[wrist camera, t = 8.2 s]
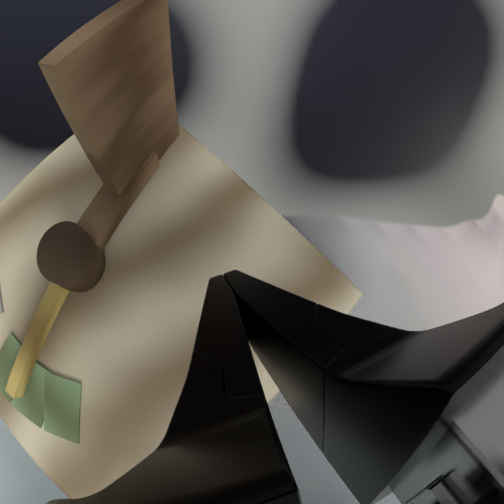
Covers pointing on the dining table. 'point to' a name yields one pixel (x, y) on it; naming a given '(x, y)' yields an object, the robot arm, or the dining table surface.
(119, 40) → the brown piece
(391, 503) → the dining table surface
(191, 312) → the dial board
